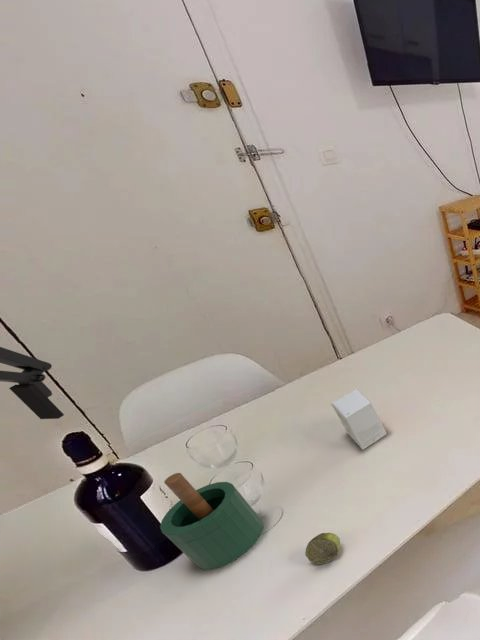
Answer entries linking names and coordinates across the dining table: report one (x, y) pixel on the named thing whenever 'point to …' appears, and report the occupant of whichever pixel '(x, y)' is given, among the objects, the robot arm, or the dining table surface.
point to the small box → (359, 418)
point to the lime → (323, 548)
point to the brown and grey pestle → (188, 495)
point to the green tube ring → (214, 527)
